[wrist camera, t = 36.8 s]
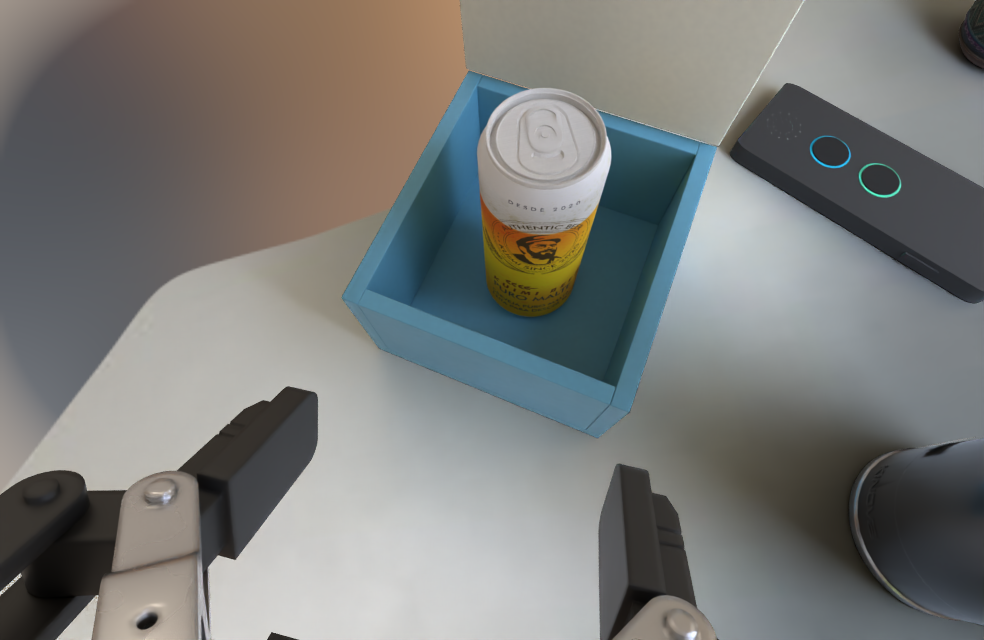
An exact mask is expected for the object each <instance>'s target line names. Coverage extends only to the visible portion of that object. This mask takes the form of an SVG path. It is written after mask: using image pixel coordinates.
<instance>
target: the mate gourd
mask: <svg viewBox="0 0 984 640" xmlns="http://www.w3.org/2000/svg"><path fill="white" fill-rule="evenodd" d="M959 42H960V46H961V49H962V52H963V53H964V55H965V56H966V58H968V60H969V61H971V62H972V63H974V64H975V65H977V66H979V67H981V68H983V69H984V0H976V1H975V2H974V4H973V6H972V7H971V8H970V10H969V11H968V12H967V14H966V18H965V20H964V21H963V23H962V24H961V26H960V29H959Z"/></svg>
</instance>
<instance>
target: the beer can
mask: <svg viewBox="0 0 984 640" xmlns="http://www.w3.org/2000/svg"><path fill="white" fill-rule="evenodd" d="M477 160H478V174H479V187H480V201H481V215H482V228H483V242H484V256H485V270H486V282H487V286H488V289H489V292H490V294H491V295H492V297H493V299H494V300H495V301H496V302H497V303H498V304H499V305H500V306H501V307H502V308H504V309H505V310H507V311H509V312H511V313H513V314H516V315H520V316H525V317H536V316H542V315H546V314H549V313H551V312H553V311H555V310H556V309H558V308H559V307H560V306H562V305H563V304H564V303H565V301H566V300H567V299H568V297H569V296H570V294H571V292H572V289H573V286H574V283H575V280H576V276H577V273H578V270H579V266H580V263H581V260H582V257H583V253H584V250H585V247H586V244H587V240H588V237H589V234H590V230H591V227H592V224H593V221H594V217H595V214H596V211H597V208H598V204H599V201H600V198H601V194H602V191H603V188H604V185H605V181H606V178H607V175H608V172H609V168H610V164H611V147H610V143H609V140H608V137H607V133H606V128H605V125H604V122H603V120H602V118H601V116H600V114H599V113H598V112H597V110H596V109H595V108H594V107H593V106H592V105H591V104H590V103H589V102H587V101H586V100H585V99H583V98H581V97H580V96H578V95H576V94H573V93H571V92H568V91H565V90H561V89H555V88H535V89H529V90H525V91H522V92H519V93H517V94H514V95H512V96H511V97H509V98H507V99H506V100H504V101H503V102H502V103H501V104H500V105H499V106H498V107H497V108H496V109H495V110H494V111H493V113H492V114H491V116H490V118H489V120H488V123H487V126H486V127H485V128H484V130H483V132H482V134H481V136H480V139H479V142H478V147H477Z"/></svg>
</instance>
